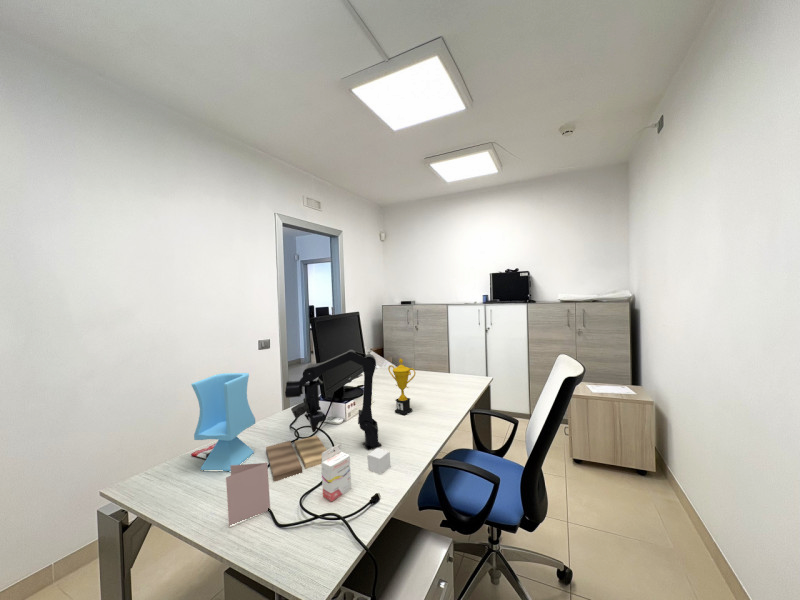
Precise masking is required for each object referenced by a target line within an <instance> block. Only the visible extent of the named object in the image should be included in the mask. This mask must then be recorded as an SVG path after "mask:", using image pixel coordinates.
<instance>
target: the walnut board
mask: <svg viewBox="0 0 800 600" xmlns="http://www.w3.org/2000/svg"><path fill="white" fill-rule="evenodd" d="M265 452H266V456H267V459H268V463H270V464H269V467H270V470H271V476H272V478H273V482H274V481H275V482H278V481H282V480H284V478H285V479H288V478H291V477H293V475H294V476H296V474H297V475H299V473H300V474H303V466H302V464H301V462H300V459H299V457H298V456H297V453H296V451H295V448H294V446H293V444H292V442H291V440H288V441H284V442H280V443H275V444H272V445H269V446H266V447H265ZM290 476H291V477H290ZM287 477H288V478H287Z"/></svg>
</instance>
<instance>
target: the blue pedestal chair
mask: <svg viewBox="0 0 800 600" xmlns="http://www.w3.org/2000/svg"><path fill="white" fill-rule="evenodd" d="M249 377H250V374H249V373H248V372H234V373H233V372H229V373H227V372H226V373H219V374H215V375H212V376H208V377H205V378H203V379H201V380H198V381H195V382H192V383H191V387H192V389H193V391H194V394H195V396H196V399H197V401H198V406H199V414H198V415H199V416H198V422H197V425H196V428H195V430H194V431H195V432H194V434H193V435H194V436H193V437H194V438H193V439H194V441H206V440H217V442H216V443H215V445H214V447H213V448H212V449H211V451H210V453H208V454H209V455H208V456H207V457H206V459H205V461H204V462H203V464H202V465H201V467H200V471H201V470H223V471H231V467H230V465H240V464H241V463H242V462H243V463H245V462H246V461H247V460H248V459H249V458H251V457H250V456H251V455H252V454H253V455H254V454H255V450H253V449H252V448H251V447H250V446H249V445H247V444H246V443H245V442H243V441H242V440H241V439H240V438H239V437H238V436H239V435H240V434H241V433H243V432H244V431H245V430H246V429H249V428H251V427H253V426H254V425H255V424H256V417H255V416H254V414H253V412H252V409H251V407H250V404H249V400H248V382H249ZM253 455H252V456H253ZM247 458H248V459H247ZM246 459H247V460H246ZM245 460H246V461H245ZM244 461H245V462H244ZM243 463H242V464H243ZM242 464H241V465H242Z"/></svg>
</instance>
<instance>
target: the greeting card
mask: <svg viewBox="0 0 800 600" xmlns="http://www.w3.org/2000/svg"><path fill="white" fill-rule="evenodd" d="M230 467H231V472H230V475H229V476H226V477H225V482H226V483H225V485H226V497H227V498H226V499H227V512H228V515H227V516H228V527H229V526H230V525H232V524H235V523H237V522H240V521H242V520H245V519H248V518H250V517H253V516H255V515H258V514H260V515H262V514H264V513H263V512H265V513H267V512H268V511H267V510H268V508H270V509H271V501H270V500H271V498H270V484H269V482H270V481H269V467H268V462H261V463H260V462H259V463H246V464H245V463H243V464H241V465H230ZM266 511H267V512H266ZM261 513H262V514H261ZM258 516H259V515H258ZM253 518H254V517H253Z"/></svg>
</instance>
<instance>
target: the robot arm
mask: <svg viewBox="0 0 800 600" xmlns="http://www.w3.org/2000/svg"><path fill="white" fill-rule="evenodd" d="M350 361H351V362H354V363H356V364H357V365H360V366H362V368H363V377H364V378H363V393H362V394H363V397H362V407H361V409H358V418H357V424H358V425H359V428H360V429H361V431H363V432H364V439H365V441H364V442H362V445H363V447H364V448H365V449H367V451H370V450H373V449H376V448H380V447H381V446H382V444H381V442H379V427H378V422H377V421H376V420H375V419H374V417H373V414H372V413H373V412H372V398H373V378H374V374H375V370H376V366H377V360H376V357H375V356H374V354H371V353H367V354H365V353H362V352H359V351H356V350H354V349H348V350H347V351H346V352H343V353H342V354H341V353H340V354H339V355H336V356H334V357H332V358H329V359H327V360H326V361H323V362H318V363H313V364H309V365H307V366H306V367H305V368H304V370H303V372H302V377H300V379H299V380H288V381H286V382H285V383H286V385H285V392H284V393H285V394H284V395H285V398H286V399H290V398H291V399H292V398H301V397H302V395H303V394H304V397H303V401H302V402H300V403H298V404H296V405H295V406H293V407H291V409H290V411H291V412H292V415H293V416H294V418H295V419H297V418H299V417H300V416H302V415H304V416H305V418H306V420H307V421H308V423H309V425H310V428H311V431H312V433H315V432H316V431H317V429H318V425H319V424H320V422H325V421H326V420H327V418H326V417H327V415H326V414H325V413H324V412H323V411H322V408H321V406H320V401H321V398H320V395H319V393H320V391H319V386H322V385H323V383H324V381H322V380H321V379H320V378H319V377H321V376H322V375H323V374H324V373H326V372H327V371H330V370H332V369H335V368H337V367H339V366H341V365H343V364H346V363H348V362H350Z"/></svg>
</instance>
